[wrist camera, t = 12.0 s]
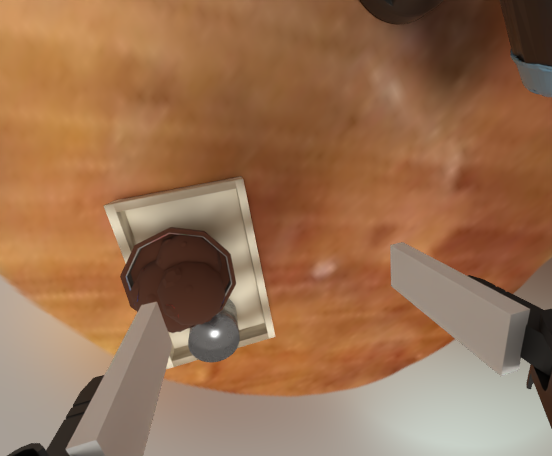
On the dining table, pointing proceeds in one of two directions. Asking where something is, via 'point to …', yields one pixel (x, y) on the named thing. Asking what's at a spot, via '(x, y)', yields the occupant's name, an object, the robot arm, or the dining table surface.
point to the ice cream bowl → (180, 276)
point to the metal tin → (216, 336)
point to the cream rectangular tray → (219, 225)
